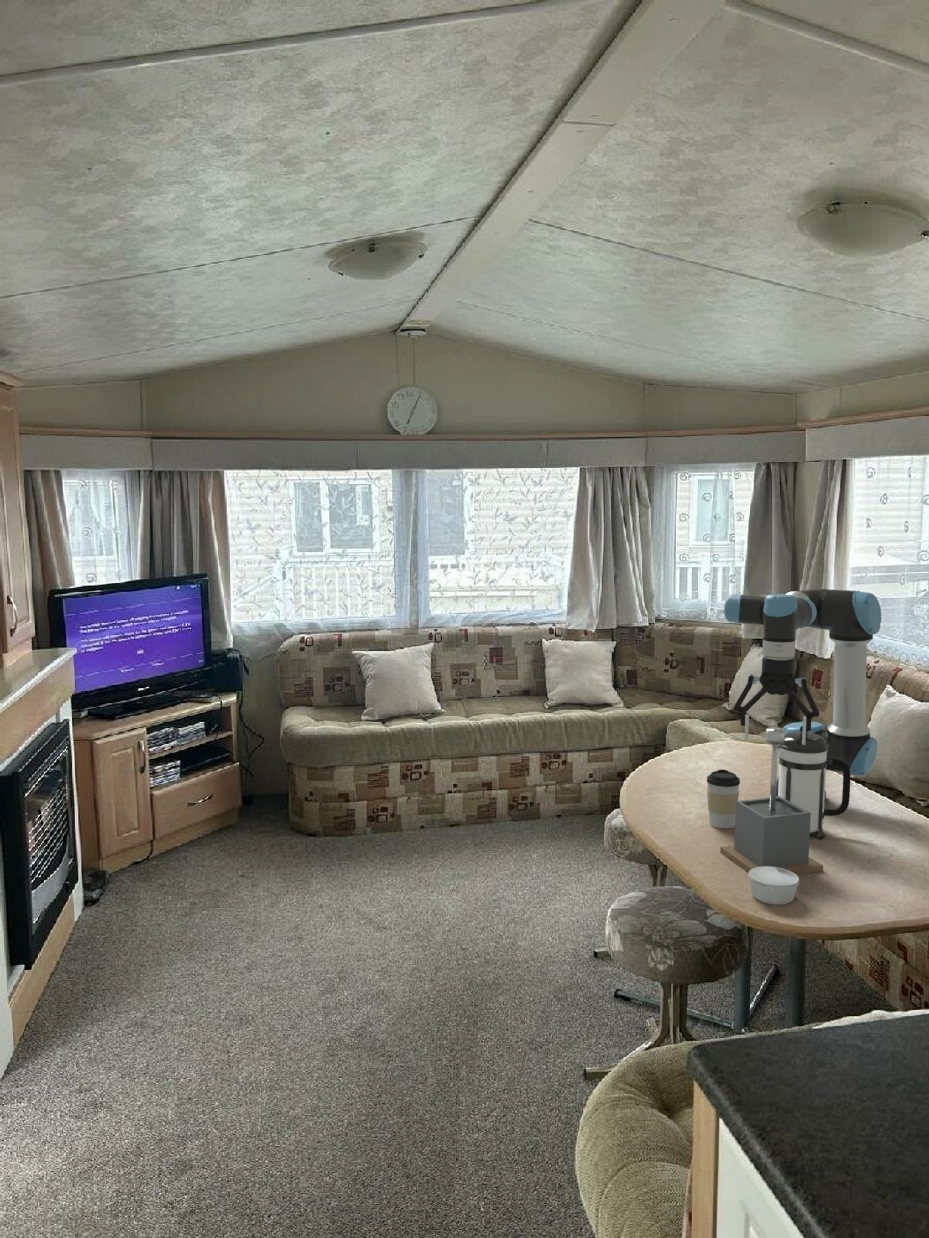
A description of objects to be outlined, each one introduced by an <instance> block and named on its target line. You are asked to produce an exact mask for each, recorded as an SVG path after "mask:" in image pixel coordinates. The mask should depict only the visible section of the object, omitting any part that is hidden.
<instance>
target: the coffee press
mask: <svg viewBox="0 0 929 1238" xmlns="http://www.w3.org/2000/svg"><path fill="white" fill-rule="evenodd" d="M800 731H801V732H792V733H788V734H786V735H785V740H784V744H778V763H779V764H778V765H779V767H778V776H779V787H778V796H781V797H782V798H784V799H786V800H788V801H790V802H792V803H793V804H795V805H797V806H799V807H801V808H803V809H804V810H806V811H808V812H810V813H811V816H810V834H811V833H814V834H815V835H816V837H817V838H818V839H819V840H821V839H822V840H823V839H825V838H826V834H825V832H824V830H823V826H824V819H825V817H836V816H839V815H842V814H844V813H845V811H847V810H848V807H849V804H850V796H851V794H850V793H851V775H850V770H849V768H848V766H847V765H846V763H845V762H844V761H842V760H840V759H837V758H833V759H830V758H829V759H828V758H826V757H827V751H828V748H829V746H828V744H827V743H826V741H825V739H824V738H823V737H821V736H819V735H817V734H813V733H808V731H806V739H805V745H802V732H803V726H801V727H800ZM827 764H833V765H837V766H839V767H841V769H842V771H843V773H842V796H841V802H840V805H839V806H838V807H836V808H825V802H824V799H825V791H826V774H827V770H826V767H827Z"/></svg>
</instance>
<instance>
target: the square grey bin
mask: <svg viewBox="0 0 929 1238" xmlns="http://www.w3.org/2000/svg"><path fill="white" fill-rule="evenodd" d="M776 801H779V802H780V803H782V804H784V805H786V806H788V807H789V808H791V809H793V810H795V811H797V812H798V813H791V814H783V815H774V816H764V815H762V814H761V813H759V812H757V811H756V810H754V809H752V808H751V807H749V806H747V805H749V804H758V803H767V802H770V796H769V797H763V798H761V797H760V798H753V799H744V800H738V801H736V810H735V826H734V843H733V845H727V846H720V851H719V853H720V854H722V855H723V856H724V857H726V858H728V860H730V859H731V860H730V861H731V862H733V863H734V864H736V865H737V866H738V867H740V868H741V869H743V870H744V871H746V872H747V873H749V871H750V870H751V869H753V868H756V867H763V866H770V867H778V868H783V869H786V870H789V871H791V872H793V873H794V874H796V875H797V876H799V875H805V874H813V873H820V872H821V873H822V872H824V865H823V864H821V863H820V862H819V861H817V860H816V859H814V858H812V857H810V838H811V837H810V834H811V833H810V816H811V813H810V812H808V811H806V810H804V809H803V808H801V807H799V806H797V805H795V804H793V803H792V802H790V801H788V800H786V799H784V798H782V797H781V796H778V797H776Z"/></svg>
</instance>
